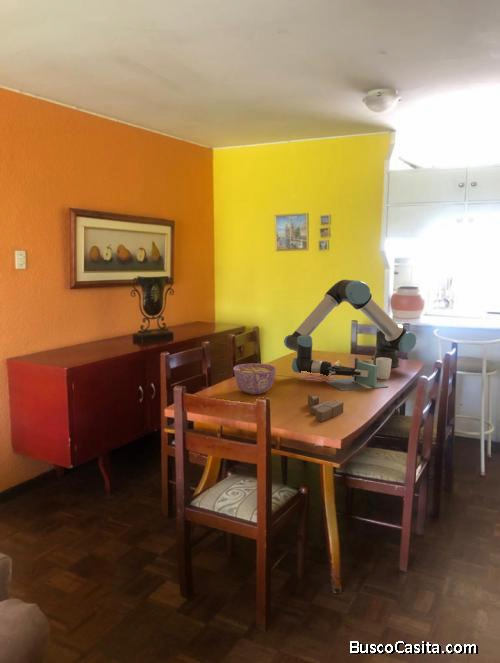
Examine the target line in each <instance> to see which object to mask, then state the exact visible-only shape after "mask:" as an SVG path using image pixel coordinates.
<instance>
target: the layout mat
mask: <svg viewBox="0 0 500 663" xmlns="http://www.w3.org/2000/svg"><path fill="white" fill-rule="evenodd" d="M331 380H332V381H330V382H327V384H328V385H330V386H332V387H334V388H335V389H337V390H339V391H341V392H345V391H359V390H370V389H382V388H383V389H384V388H385V389H386V388H388V387H389V386H388V385H385V384H384V383H382V382H379V381H377V386H376V387H373V386H370V385H367V384H364V383H361V382H358V381H354V377H349V378H348V377H347V378H337V379H335V378H334V379H331Z"/></svg>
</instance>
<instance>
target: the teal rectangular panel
mask: <svg viewBox="0 0 500 663" xmlns="http://www.w3.org/2000/svg"><path fill="white" fill-rule="evenodd" d="M357 370H365V371H369V376H368V377H362V376H356V381H358V382H361V383H364V384H367V385H370V386H373V387H376V386H377V382H378V378H377V366H375V365H372V364H368V363H364V362H361V361H359V360H358V361H357Z"/></svg>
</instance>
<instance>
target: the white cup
mask: <svg viewBox="0 0 500 663" xmlns="http://www.w3.org/2000/svg"><path fill="white" fill-rule="evenodd" d="M391 361H392V359H390V358H384V357H380V358H376V366H377V379H379V380H389V379H390V377H391V369H392V367H391Z"/></svg>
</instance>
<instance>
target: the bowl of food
mask: <svg viewBox="0 0 500 663" xmlns="http://www.w3.org/2000/svg"><path fill="white" fill-rule="evenodd" d="M232 369H233V373H234V377H235V382H236V385H237V387H238V388H239V390H242V391H243V392H245V393H246V392H247V393H250V394H249V395H253V394H257V395H261V394H264V393H265V392H267V391H269V390H270V389H271V388H272V386H273V384H274V380H275V376H276V372H277V367H276V366H274V365H272V364H266V363H253V362H252V363H242V364H238V365H234V367H233V368H232ZM247 393H246V394H247Z"/></svg>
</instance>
